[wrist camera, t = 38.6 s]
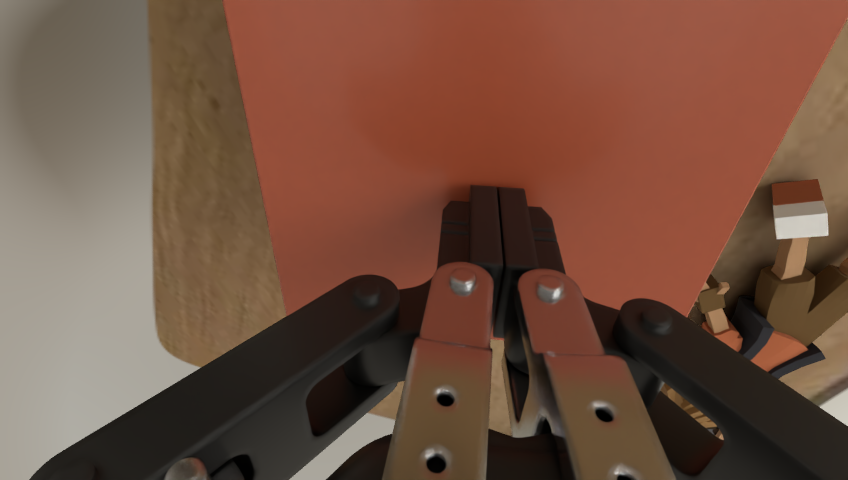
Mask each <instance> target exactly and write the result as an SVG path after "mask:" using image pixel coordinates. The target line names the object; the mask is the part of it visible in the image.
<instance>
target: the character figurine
mask: <svg viewBox="0 0 848 480" xmlns="http://www.w3.org/2000/svg"><path fill="white" fill-rule="evenodd" d="M772 198H773V216H774V224H775V231H776V237H777V239H781V241H780V244H779V247H778V251H777V256H776V260H775V264H774V265H772V266H768V267H765V268H763V269H762V270H761V272H760V275H759V278H758V280H757V284H756V293H755V297H750V296H739V300H738V303H737V307H736V310H735V314H734V316H733V318H732V319H731V321H729V320H728V318H727V317H726V316H725V314H724V312H723V309H722V308H724V307H726V306H725V301H724V297H723V295H724V294H725V293H726V291H727V290H728V289H729V288H730V287H729V284H728V282H721V283H720V284H719V283H718V282H717V281H716V280H715V279H714V277H713V276H712V275H711V274H710V275H709V277H708V279H707V281H706V283H705V285H704V286H703V288H702V290H701V292H700V294H699V296H698V298H697V299H696V301H695V304H696V306H697V307H698V308H699V310H700V311H701V313H702V314H704V313H705V316H706V320H707V321H706V322H703V324H702V326H701V328H703V329H704V330H706V331H707V332H709V333H710V334H712V335H713V336H715V337H716V338H718V339H719V340H721V341H722V342H724V343H725V344H727V345H728V346H730V347H731V348H732V349H734V350H735V351H737V352H738V353H740V354H741V355H743V356H744V357H746V358H747V359H749V360H750V361H752V362H753V363H755V364H756V365H758V366H759V367H761V368H762V369H764V370H765V371H767V372H768V373H769V374H771V375H772V376H774V377H775V378H777V379H779V378H780V377H782V376H783V375H785V374H788V373H790V372H792V371H794V370H797V369H799V368H801V367H803V366H806V365H809V364H812V363H815V362H818V361H821V360H823V359H825V357H824V355H823V353H822V351H821V350H820V349H819V348H818V347H816V346H815V345H814V344H813V343H812V342H813V341H814V340H815V339H817V338H818V337H819V336H820V335H821V334H822V333H823V332H825V331H826V330H827V329H828V328H829V327H831V326H832V325H833V324H834V323H835V322H836V321H838V320H839V319H840V318H841V317H842V316H844V315H845V314H846V313H847V312H848V258H847V259H846V260H845V261H843V262H842V263H841V264H840V268H839V267H836V266H833V265H830V264H829V265H828V266H827V267H826V268H825V269H823V270H822V271H821V272H820V273H819V274H818V275H816V276H814V275H813V274H812V273H811V272H810V271H809V270H807V269H806V268H805V267H804V265H805V262H806V254H807V246H808V240H809V237H816V236H828V213H827V210H826V207H825V204H824V200H823V197H822V193H821V189H820V186H819V182H818V179H814V180H805V181H795V182H786V183H776V184H772ZM661 392H663V393H664V394H665V395H666V396H667V397H669V398H670V399H671V400H672V401H673V402H675V403H676V404H677V405H678V406H680V407H681V408H682V409H683V410H684V411H686V412H687V413H688V414H689V415H690V416H692V417H693V418H694V419H695V420H696V421H698V422H699V423H700V424H701V425H703V426H704V427H705V428H706V429H707V430H709V431H710V432H711V433H712V434H713V435H715V436H716V437H718V438H720V439H722V440H724V439H723V435H722V433H721V431H720V429H719V428H718V427H717V425H716V424H715V423H714V422H713V421H711V420H710V419H709V418H708V417H707V416H705V415H704V414H703V413H702V412H700V411H699V410H698V409H697V408H695V407H694V406H693V405H692V404H690V403H689V402H688V401H687V400H685V399H684V398H683V397H682V396H681V395H679V394H678V393H677V392H676V391H674V390H673V389H672V388H671V387H669V386H668V385H667V384H666V383H664V385H663V387H662V388H661Z"/></svg>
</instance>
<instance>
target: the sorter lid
mask: <svg viewBox="0 0 848 480" xmlns="http://www.w3.org/2000/svg"><path fill="white" fill-rule="evenodd" d="M222 2H223V7H224V12H225V17H226V22H227V27H228V31H229V36H230V41H231V46H232V51H233V56H234V61H235V66H236V71H237V75H238V80H239V85H240V90H241V95H242V100H243V105H244V110H245V115H246V119H247V124H248V129H249V134H250V139H251V144H252V149H253V154H254V159H255V164H256V168H257V173H258V178H259V183H260V188H261V193H262V198H263V203H264V208H265V212H266V217H267V222H268V227H269V232H270V237H271V242H272V247H273V252H274V257H275V261H276V266H277V271H278V276H279V281H280V286H281V291H282V296H283V301H284V305H285V310H286V315H287V316H288V315H290V314H292V313H293V312H295V311H297V310H298V309H300V308H302V307H303V306H305V305H307V304H308V303H310V302H312V301H313V300H315V299H317V298H318V297H320V296H322V295H323V294H325V293H327V292H328V291H330V290H332V289H333V288H335V287H337V286H338V285H340V284H342V283H343V282H345V281H347V280H348V279H350V278H353V277H356V276H360V275H378V276H382V277H385V278H387V279H389V280H391V281H392V282H393V283H394V284H395V285H396V286H397V288H398V290H399V289H405V288H411V287H416V286H419V285H421V284H423V283H425V282H427V281H428V280H429V279H431V278H432V277H433V274H434V273H435V271H436V269H437V263H438V252H439V242H440V233H441V222H442V212H443V209H444V208H445V207H446V206H447V205H448V203H449V202H450V201H464V202H469V193H470V186H471V185H482V186H496V187H497V188H498V187H511V188H524V189H525V194H526V199H527V205H528V206H532V207H542V208H543V209H544V210H545V211H546V212H547V214H548V215H549V216H550V217H551V218H552V221H553V225H554V229H555V233H556V237H557V242H558V245H559V249H560V253H561V256H562V260H563V264H564V268H565V272H566V275H567V276H569V277H570V278H571V279H573V280H574V281H575V282H576V283H577V285H578V286H579V288H580V290H581V292H582V295H583V297H585V298H587V299H589V300H591V301H593V302H596V303H598V304H601V305H605V306H608V307H611V308H614V309H617V310H620V309H621V306H622V305H623V304H624V303H625V302H627V301H629V300H631V299H636V298H646V299H652V300H656V301H659V302H662V303H664V304H666V305H668V306H670V307H672V308H673V309H675V310H676V311H678V312H679V313H681V314H682V315H684V316H685V317H687V316H688V314H689V312H690V311H691V309H692V307H693V305H694V303H695V301H696V299H697V298H698V296H699V294H700V292H701V290H702V288H703V286H704V285H705V283H706V281H707V279H708V277H709V275H710V273H711V272H712V270H713V268H714V266H715V264H716V262H717V260H718V259H719V257H720V255H721V253H722V251H723V249H724V247H725V246H726V244H727V242H728V240H729V238H730V236H731V234H732V233H733V231H734V229H735V227H736V225H737V223H738V221H739V220H740V218H741V216H742V214H743V212H744V210H745V208H746V207H747V205H748V203H749V201H750V199H751V197H752V195H753V193H754V192H755V190H756V188H757V186H758V184H759V182H760V180H761V179H762V177H763V175H764V173H765V171H766V169H767V167H768V166H769V164H770V162H771V160H772V158H773V156H774V154H775V153H776V151H777V149H778V147H779V145H780V143H781V141H782V140H783V138H784V136H785V134H786V132H787V130H788V128H789V127H790V125H791V123H792V121H793V119H794V117H795V115H796V114H797V112H798V110H799V108H800V106H801V104H802V102H803V101H804V99H805V97H806V95H807V93H808V91H809V89H810V88H811V86H812V84H813V82H814V80H815V78H816V76H817V74H818V73H819V71H820V69H821V67H822V65H823V63H824V61H825V60H826V58H827V56H828V54H829V52H830V50H831V48H832V47H833V45H834V43H835V41H836V39H837V37H838V35H839V34H840V32H841V30H842V28H843V26H844V24H845V22H846V21H847V19H848V0H222ZM490 339H494V340H504V338H495V337H493V326H492V331H491V338H490Z"/></svg>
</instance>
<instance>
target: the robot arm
mask: <svg viewBox="0 0 848 480" xmlns="http://www.w3.org/2000/svg"><path fill="white" fill-rule="evenodd" d="M492 326H493V337H495V338H504V347H505V348H504V353H503V358H502V371H503V378H504V384H505V391H506V397H507V404H508V410H509V417H510V423H511V430H512V437H511V436H508V435H505V434H502V433H500V432H497V431H494V430H491V429H489V409H490V390H491V371H492V348H490V338H491V331H492ZM400 381H405V382H404V387H403V391H402V395H401V399H400V404H399V408H398V412H397V417H396V421H395V425H394V430H393V434H390V435H387V436H384V437H382V438H379V439H377V440H374V441H373V442H371V443H369V444H367V445H366V446H364V447H362V448H361V449H360V450H358V451H357V452H356V453H354V454H353V455H352V456H351V457H349V458H348V459H347V460H346V461H345V462H344V463H343V464H342V465H341V466H340V467H339V468H338V469H337V470H336V471H335V472H334V473H333V474H332V475H330V476H329V477H328V478H327V479H326V480H848V426H846V425H845V424H843V423H842V422H840V421H839V420H837V419H836V418H835V417H833V416H831V415H830V414H828V413H827V412H825V411H824V410H823V409H821V408H820V407H818V406H817V405H815V404H814V403H812V402H811V401H809V400H808V399H806V398H805V397H803V396H802V395H801V394H799V393H798V392H796V391H795V390H793V389H792V388H790V387H789V386H787V385H786V384H784V383H783V382H781V381H780V380H778V379H777V378H775V377H774V376H772V375H771V374H769V373H768V372H767V371H765V370H764V369H762V368H761V367H759V366H758V365H756V364H755V363H753V362H752V361H750V360H749V359H747V358H746V357H744V356H743V355H741V354H740V353H738V352H737V351H735V350H734V349H732V348H731V347H730V346H728V345H727V344H725V343H724V342H722V341H721V340H719V339H718V338H716V337H715V336H713V335H712V334H710V333H709V332H707V331H706V330H704V329H703V328H701V327H700V326H698V325H697V324H696V323H694V322H693V321H691V320H690V319H688V318H687V317H685V316H684V315H682V314H681V313H679V312H678V311H676V310H675V309H673V308H672V307H670V306H668V305H666V304H664V303H662V302H659V301H656V300H652V299H646V298H636V299H631V300H629V301H627V302H625V303H624V304H623V305H622V306H621V309H620V310H617V309H614V308H611V307H608V306H605V305H601V304H598V303H596V302H593V301H591V300H589V299H587V298H585V297H583V295H582V292H581V290H580V288H579V286H578V285H577V283H576V282H575V281H574V280H573V279H571V278H570V277H569V276H567V275H566V272H565V268H564V264H563V260H562V256H561V253H560V249H559V245H558V242H557V237H556V233H555V229H554V225H553V221H552V218H551V217H550V216H549V215H548V214H547V212H546V211H545V210H544V209H543V208H542V207H532V206H528V205H527V199H526V194H525V189H524V188H511V187H498V188H497V187H496V186H482V185H471V186H470V193H469V202H464V201H450V202H449V203H448V205H447V206H446V207H445V208H444V209H443V212H442V222H441V233H440V242H439V252H438V263H437V269H436V271H435V273H434V274H433V277H432V278H431V279H429V280H428V281H427V282H425V283H423V284H421V285H419V286H416V287H411V288H405V289H399V290H398V288H397V286H396V285H395V284H394V283H393V282H392V281H391V280H389V279H387V278H385V277H382V276H378V275H360V276H356V277H353V278H350V279H348V280H347V281H345V282H343V283H342V284H340V285H338V286H337V287H335V288H333V289H332V290H330V291H328V292H327V293H325V294H323V295H322V296H320V297H318V298H317V299H315V300H313V301H312V302H310V303H308V304H307V305H305V306H303V307H302V308H300V309H298V310H297V311H295V312H293V313H292V314H290V315H288V316H287V317H285V318H283V319H282V320H280V321H278V322H277V323H275V324H273V325H272V326H270V327H268V328H267V329H265V330H263V331H262V332H260V333H258V334H257V335H255V336H253V337H252V338H250V339H248V340H247V341H245V342H243V343H242V344H240V345H238V346H237V347H235V348H233V349H232V350H230V351H228V352H227V353H225V354H223V355H222V356H220V357H218V358H217V359H215V360H213V361H212V362H210V363H208V364H207V365H205V366H203V367H202V368H200V369H198V370H197V371H195V372H193V373H192V374H190V375H188V376H187V377H185V378H183V379H182V380H180V381H178V382H177V383H175V384H173V385H172V386H170V387H169V388H167V389H165V390H163V391H162V392H160V393H159V394H157V395H155V396H153V397H152V398H150V399H148V400H147V401H145V402H143V403H142V404H140V405H138V406H137V407H135V408H134V409H132V410H130V411H128V412H127V413H125V414H123V415H122V416H120V417H118V418H117V419H115V420H113V421H112V422H110V423H108V424H107V425H105V426H103V427H102V428H100V429H99V430H97V431H95V432H94V433H92V434H90V435H88V436H87V437H85V438H84V439H82V440H80V441H79V442H77V443H75V444H74V445H72V446H70V447H68V448H67V449H65V450H63V451H62V452H60V453H59V454H57V455H56V456H54V457H53V458H51V459H50V460H49V461H48V462H46V463H45V464H44V465H43V466H42V467H41V468H40V469H39V470H38V471H37V472H36V473H35V474H34V475H33V476H32V477H31V478H30V480H289V479H290V478H291V477H292V476H293V475H295V474H296V473H297V472H298V471H299V470H301V469H302V468H303V467H304V466H305V465H306V464H308V463H309V462H310V461H311V460H312V459H313V458H315V457H316V456H317V455H318V454H319V453H321V452H322V451H323V450H324V449H325V448H326V447H328V446H329V445H330V444H331V443H332V442H333V441H335V440H336V439H337V438H338V437H339V436H340V435H342V434H343V433H344V432H345V431H346V430H347V429H348V428H350V427H351V426H352V425H353V424H355V423H356V422H357V421H358V420H359V419H360V418H361V417H363V416H364V415H365V414H366V413H367V412H369V411H370V410H371V409H372V408H373V407H374V406H376V405H377V404H378V403H379V402H380V401H381V400H383V399H384V398H385V397H386V396H387V395H388V394H390V393H391V392H392V391H393V390H394V389H395V387H396V386H397V383H398V382H400ZM664 383H666V384H667V385H668V386H669V387H671V388H672V389H673V390H674V391H676V392H677V393H678V394H679V395H681V396H682V397H683V398H684V399H685V400H687V401H688V402H689V403H690V404H692V405H693V406H694V407H695V408H697V409H698V410H699V411H700V412H702V413H703V414H704V415H705V416H707V417H708V418H709V419H710V420H711V421H713V422H714V423H715V424H716V425H717V427H718V428H719V429H720V431H721V433H722V435H723V439H724V440H722V439H720V438H718V437H716V436H715V435H713V434H712V433H711V432H710V431H709V430H707V429H706V428H705V427H704V426H703V425H701V424H700V423H699V422H698V421H696V420H695V419H694V418H693V417H692V416H690V415H689V414H688V413H687V412H686V411H684V410H683V409H682V408H681V407H680V406H678V405H677V404H676V403H675V402H673V401H672V400H671V399H670V398H669V397H667V396H666V395H665V394H664V393H663V392H661V391H660V390H661V388H662V387H663V385H664Z"/></svg>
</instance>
